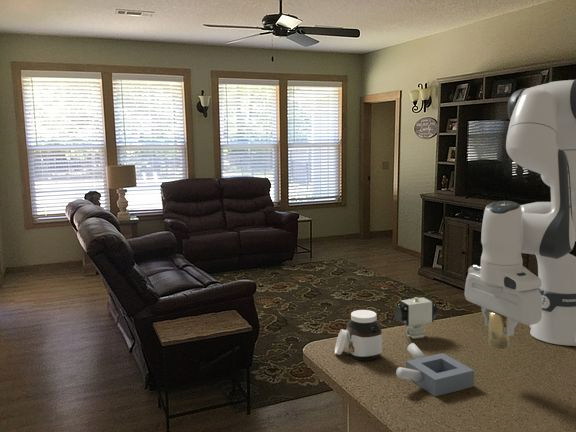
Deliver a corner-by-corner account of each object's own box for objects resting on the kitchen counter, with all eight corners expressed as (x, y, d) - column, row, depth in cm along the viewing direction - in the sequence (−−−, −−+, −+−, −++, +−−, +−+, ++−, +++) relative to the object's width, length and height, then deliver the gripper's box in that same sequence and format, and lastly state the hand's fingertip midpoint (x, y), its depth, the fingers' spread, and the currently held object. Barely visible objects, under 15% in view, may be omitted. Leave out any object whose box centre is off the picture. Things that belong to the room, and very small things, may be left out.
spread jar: (386, 359, 134) (386, 317, 132) (349, 367, 129) (348, 324, 128) (363, 343, 145) (362, 304, 143) (327, 350, 140) (327, 310, 139)
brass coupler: (498, 339, 121) (499, 307, 120) (513, 346, 117) (514, 313, 116) (484, 343, 119) (485, 310, 118) (498, 350, 115) (499, 316, 114)
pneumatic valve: (438, 336, 148) (438, 297, 146) (402, 342, 144) (402, 302, 143) (427, 330, 153) (427, 292, 151) (392, 335, 150) (392, 296, 148)
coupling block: (427, 358, 133) (428, 338, 132) (473, 386, 117) (474, 363, 116) (371, 371, 127) (371, 350, 126) (412, 402, 111) (412, 378, 110)
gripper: (458, 264, 124) (457, 318, 126) (525, 286, 105) (523, 349, 107) (479, 261, 126) (477, 313, 128) (548, 282, 107) (545, 343, 110)
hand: (499, 330), depth 118 cm, fingers closed on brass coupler, 4 cm apart
